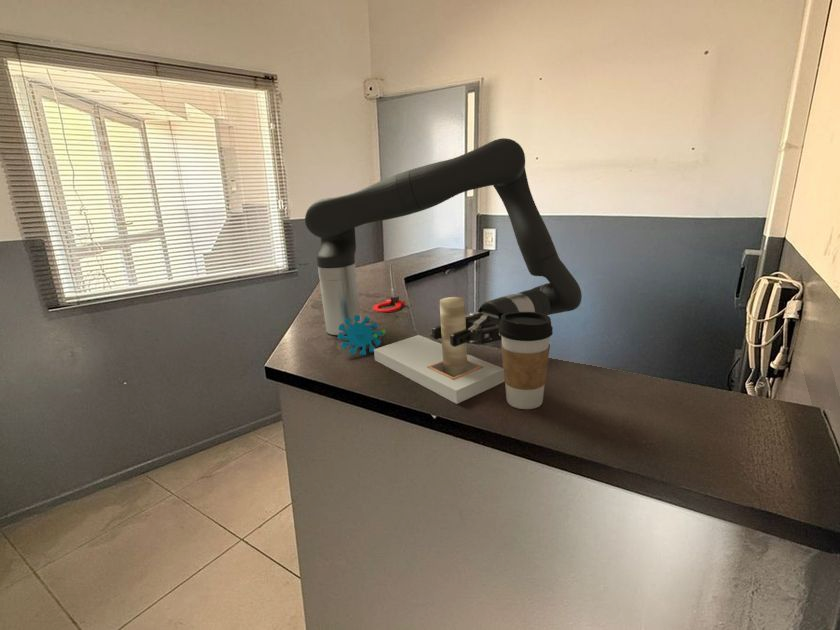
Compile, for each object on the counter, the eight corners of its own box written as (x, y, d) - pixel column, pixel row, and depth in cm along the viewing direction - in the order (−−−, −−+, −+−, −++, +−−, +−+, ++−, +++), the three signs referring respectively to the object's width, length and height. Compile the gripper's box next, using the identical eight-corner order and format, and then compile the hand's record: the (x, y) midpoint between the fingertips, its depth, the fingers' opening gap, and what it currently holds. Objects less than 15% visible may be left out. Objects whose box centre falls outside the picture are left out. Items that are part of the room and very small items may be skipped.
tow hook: (390, 315, 125) (408, 305, 132) (384, 272, 120) (403, 263, 128) (367, 312, 129) (386, 302, 136) (361, 270, 125) (381, 262, 132)
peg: (438, 372, 83) (434, 301, 78) (456, 364, 85) (453, 295, 81) (454, 379, 79) (451, 305, 75) (472, 371, 82) (470, 299, 77)
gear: (341, 354, 93) (335, 314, 98) (337, 365, 98) (332, 326, 103) (390, 351, 98) (383, 312, 102) (384, 362, 102) (377, 324, 107)
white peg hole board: (374, 360, 94) (373, 348, 93) (419, 345, 100) (418, 334, 100) (456, 404, 74) (456, 389, 73) (504, 381, 81) (504, 368, 80)
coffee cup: (489, 396, 76) (488, 313, 71) (529, 384, 79) (531, 305, 74) (518, 418, 68) (519, 328, 64) (561, 405, 71) (565, 318, 67)
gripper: (480, 291, 92) (416, 309, 82) (535, 303, 81) (469, 326, 71) (481, 324, 94) (419, 346, 85) (535, 341, 83) (470, 368, 74)
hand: (442, 337), depth 78 cm, fingers closed on peg, 4 cm apart
